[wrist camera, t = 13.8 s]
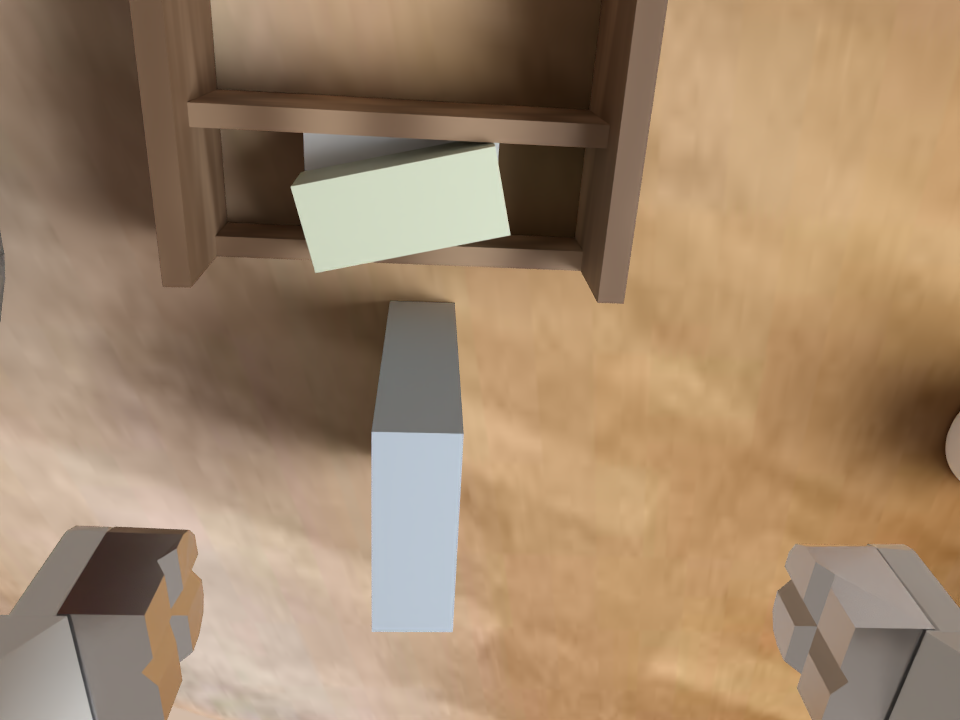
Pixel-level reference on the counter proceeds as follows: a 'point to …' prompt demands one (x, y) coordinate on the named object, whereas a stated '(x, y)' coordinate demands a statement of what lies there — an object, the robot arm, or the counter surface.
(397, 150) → the grey offcut
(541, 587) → the counter surface
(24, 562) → the counter surface
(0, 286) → the bowl
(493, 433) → the counter surface
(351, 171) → the sage offcut
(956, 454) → the pill bottle
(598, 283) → the wooden tray
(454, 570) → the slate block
